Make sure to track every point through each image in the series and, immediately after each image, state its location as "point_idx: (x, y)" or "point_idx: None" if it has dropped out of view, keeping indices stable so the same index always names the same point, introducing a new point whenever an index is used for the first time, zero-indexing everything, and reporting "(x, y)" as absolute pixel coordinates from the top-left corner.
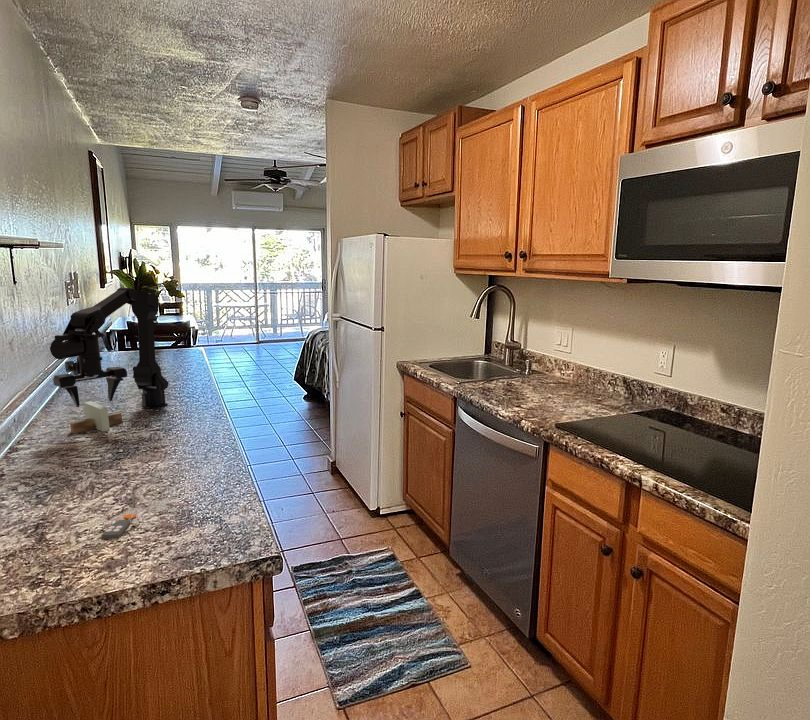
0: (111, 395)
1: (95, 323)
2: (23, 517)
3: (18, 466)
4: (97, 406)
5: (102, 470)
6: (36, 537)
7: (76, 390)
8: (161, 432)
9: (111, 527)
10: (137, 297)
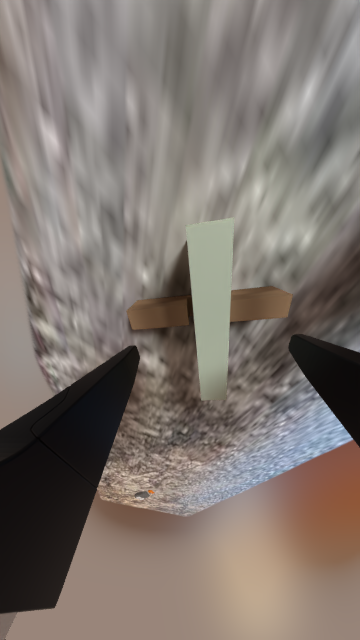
0: (315, 386)
1: None
2: None
3: None
4: (209, 366)
5: (152, 453)
6: (106, 483)
7: (76, 520)
8: (266, 411)
9: (139, 498)
10: None
